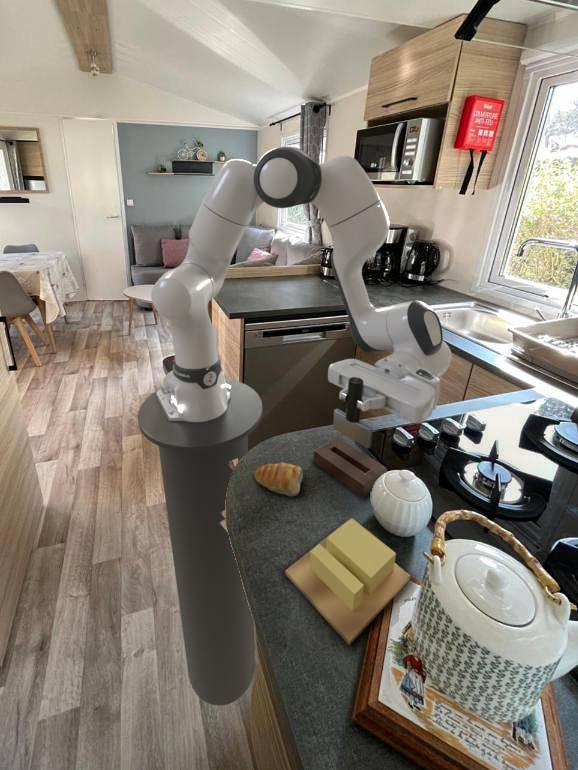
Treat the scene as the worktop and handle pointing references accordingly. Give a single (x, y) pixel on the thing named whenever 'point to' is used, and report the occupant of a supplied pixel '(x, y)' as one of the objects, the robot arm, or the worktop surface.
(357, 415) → the knife
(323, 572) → the butter slice
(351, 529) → the butter
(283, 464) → the pastry
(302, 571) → the board
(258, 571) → the worktop surface
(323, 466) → the knife stand
